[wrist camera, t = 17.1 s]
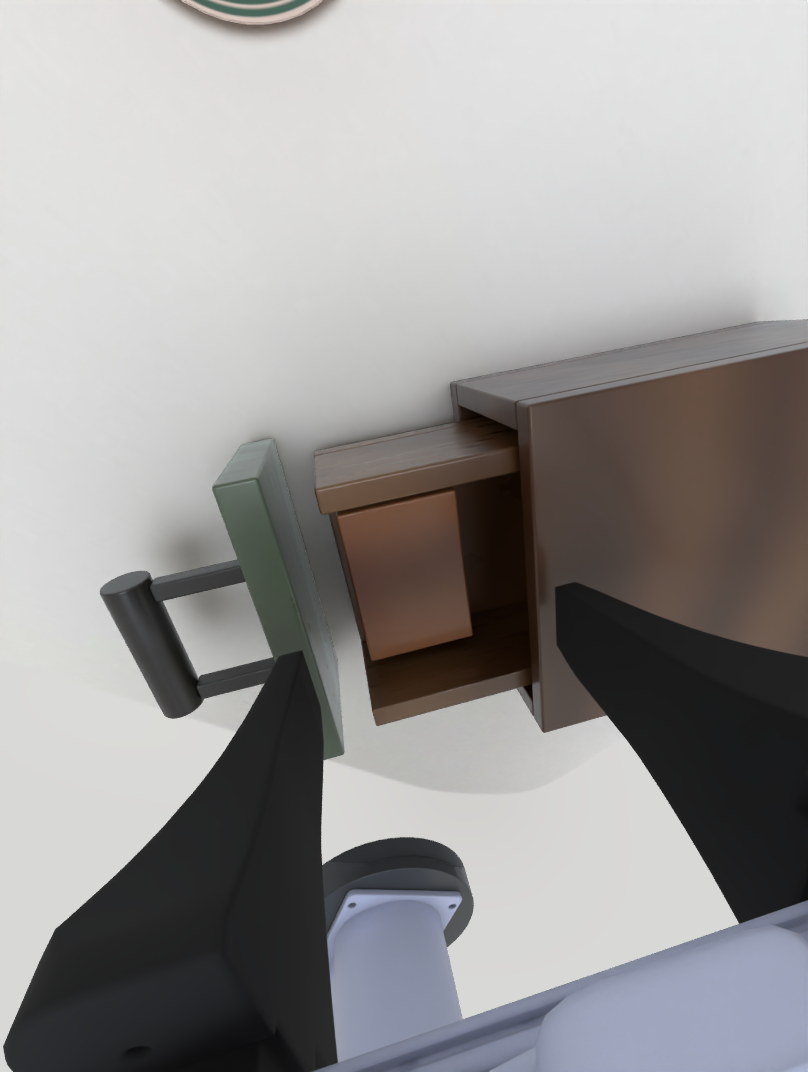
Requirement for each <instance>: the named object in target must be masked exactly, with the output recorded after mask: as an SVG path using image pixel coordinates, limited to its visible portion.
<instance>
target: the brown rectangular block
mask: <svg viewBox="0 0 808 1072" xmlns="http://www.w3.org/2000/svg"><path fill="white" fill-rule="evenodd" d="M335 514H336V520H337V524H338V528H339V532H340V536H341V540H342V544H343V548H344V552H345V556H346V560H347V564H348V569H349V573H350V577H351V581H352V585H353V589H354V593H355V597H356V601H357V605H358V609H359V613H360V617H361V621H362V625H363V629H364V633H365V637H366V641H367V645H368V649H369V653H370V657H371V660H372V661H376V660H380V659H383V658H387V657H391V656H395V655H399V654H403V653H407V652H411V651H415V650H418V649H422V648H426V647H430V646H434V645H438V644H442V643H446V642H450V641H454V640H457V639H461V638H465V637H469V636H472V635H473V631H472V622H471V614H470V606H469V598H468V590H467V581H466V573H465V565H464V557H463V549H462V540H461V532H460V524H459V516H458V508H457V499H456V491H455V490H454V489H453V488H452V487H447V488H442V489H438V490H433V491H429V492H424V493H420V494H415V495H411V496H406V497H402V498H397V499H393V500H388V501H383V502H379V503H374V504H370V505H365V506H361V507H356V508H352V509H347V510H343V511H338V512H335Z"/></svg>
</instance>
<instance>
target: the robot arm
mask: <svg viewBox="0 0 808 1072" xmlns="http://www.w3.org/2000/svg"><path fill="white" fill-rule="evenodd" d="M555 607H556V645H557V646H558V648H559V650H560V652H561V653H562V655H563V657H564V658H565V660H566V662H567V663H568V665H569V667H570V668H571V670H572V671H573V673H574V675H575V676H576V677H577V678H578V680H579V681H580V682H581V684H582V685H583V686H584V687H585V689H586V690H587V691H588V692H589V694H590V695H591V696H592V697H593V699H594V700H595V701H596V702H597V704H598V705H599V706H600V707H601V709H602V710H603V711H604V712H605V714H606V715H607V716H608V717H609V719H610V720H611V721H612V722H613V723H614V725H615V726H616V727H617V728H618V730H619V731H620V732H621V733H622V735H623V736H624V737H625V738H626V740H627V741H628V742H629V744H630V745H631V746H632V748H633V749H634V750H635V752H636V753H637V754H638V756H639V757H640V759H641V760H642V762H643V763H644V765H645V767H646V768H647V769H648V771H649V773H650V774H651V776H652V777H653V779H654V780H655V782H656V783H657V785H658V786H659V788H660V789H661V791H662V793H663V794H664V796H665V797H666V799H667V800H668V802H669V804H670V805H671V807H672V809H673V810H674V812H675V813H676V815H677V816H678V818H679V820H680V821H681V823H682V824H683V826H684V828H685V829H686V831H687V833H688V835H689V836H690V838H691V840H692V841H693V843H694V845H695V846H696V848H697V850H698V851H699V853H700V855H701V857H702V858H703V860H704V862H705V863H706V865H707V867H708V868H709V870H710V872H711V873H712V875H713V877H714V879H715V881H716V883H717V884H718V886H719V888H720V890H721V892H722V893H723V895H724V897H725V899H726V901H727V902H728V904H729V906H730V908H731V909H732V911H733V913H734V915H735V917H736V918H737V920H738V922H739V924H738V925H735V926H732V927H729V928H726V929H723V930H720V931H718V932H715V933H712V934H709V935H706V936H703V937H700V938H697V939H694V940H692V941H689V942H686V943H683V944H680V945H677V946H674V947H671V948H668V949H665V950H663V951H660V952H657V953H654V954H651V955H648V956H646V957H642V958H640V959H637V960H634V961H631V962H628V963H625V964H622V965H619V966H616V967H614V968H610V969H608V970H605V971H602V972H599V973H596V974H593V975H591V976H587V977H585V978H582V979H579V980H576V981H573V982H570V983H567V984H564V985H561V986H558V987H556V988H553V989H550V990H547V991H544V992H541V993H538V994H535V995H533V996H529V997H527V998H524V999H521V1000H518V1001H515V1002H512V1003H509V1004H506V1005H504V1006H501V1007H498V1008H495V1009H492V1010H489V1011H486V1012H483V1013H480V1014H478V1015H475V1016H472V1017H469V1018H466V1019H462V1014H461V1010H460V1005H459V1001H458V996H457V991H456V987H455V982H454V978H453V973H452V969H451V965H450V960H449V955H448V951H447V946H446V942H445V937H444V932H443V931H444V929H445V928H446V926H447V924H448V923H449V921H450V919H451V918H452V916H453V914H454V913H455V911H456V909H457V908H458V906H459V905H460V903H461V901H462V897H461V893H460V892H458V891H438V890H394V889H352V890H350V891H348V893H347V894H346V896H345V898H344V900H343V902H342V904H341V906H340V909H339V911H338V913H337V915H336V917H335V919H334V921H333V923H332V925H331V927H330V929H329V932H328V934H327V932H326V917H325V903H324V888H323V871H322V854H321V815H322V787H323V756H324V739H323V726H322V715H321V706H320V703H319V700H318V697H317V694H316V691H315V688H314V685H313V682H312V679H311V675H310V672H309V669H308V666H307V663H306V660H305V657H304V654H303V651H302V650H301V651H297V652H293V653H289V654H285V655H281V656H279V657H278V659H277V660H276V662H275V664H274V666H273V668H272V670H271V672H270V674H269V676H268V678H267V680H266V682H265V684H264V686H263V687H262V689H261V691H260V693H259V695H258V697H257V698H256V700H255V702H254V704H253V705H252V707H251V709H250V711H249V712H248V714H247V716H246V718H245V719H244V721H243V723H242V724H241V726H240V727H239V729H238V730H237V732H236V734H235V735H234V737H233V738H232V740H231V741H230V743H229V745H228V746H227V748H226V749H225V751H224V752H223V754H222V755H221V757H220V758H219V759H218V761H217V762H216V763H215V765H214V766H213V768H212V769H211V770H210V772H209V773H208V774H207V776H206V777H205V778H204V780H203V781H202V782H201V784H200V785H199V786H198V787H197V788H196V790H195V791H194V792H193V794H191V796H190V797H189V798H188V799H187V800H186V801H185V803H184V804H183V805H182V806H181V807H180V808H179V809H178V811H177V812H176V813H175V814H174V815H173V816H172V817H171V819H170V820H169V821H168V822H167V823H166V824H165V826H164V827H163V828H162V829H161V830H160V831H159V832H158V833H157V834H156V835H155V836H154V837H153V838H152V839H151V840H150V841H149V842H148V843H147V844H146V846H145V847H144V848H143V849H142V850H141V851H140V852H139V853H138V854H137V855H136V856H135V857H134V858H133V859H132V860H131V861H130V862H129V863H128V864H127V865H126V866H125V867H124V868H123V869H122V870H120V871H119V872H118V873H117V874H116V875H115V876H114V877H113V878H112V879H111V880H110V881H109V882H108V883H107V884H106V885H104V886H103V887H102V888H101V889H100V890H99V891H98V892H97V893H96V894H94V895H93V896H92V897H91V898H90V899H89V900H88V901H87V902H86V903H85V904H83V905H82V906H81V907H80V908H79V909H78V910H77V911H76V912H75V913H73V914H72V915H71V916H70V917H69V918H68V919H67V920H66V921H64V922H63V923H62V924H61V925H60V926H59V927H57V928H56V929H55V931H54V933H53V935H52V937H51V939H50V941H49V944H48V945H47V947H46V949H45V951H44V953H43V956H42V958H41V960H40V962H39V964H38V967H37V969H36V971H35V973H34V976H33V978H32V980H31V983H30V985H29V987H28V990H27V992H26V994H25V997H24V999H23V1001H22V1004H21V1006H20V1008H19V1011H18V1013H17V1015H16V1017H15V1020H14V1022H13V1024H12V1027H11V1029H10V1031H9V1034H8V1036H7V1039H6V1041H5V1044H4V1046H3V1048H4V1054H5V1060H6V1062H7V1065H8V1066H9V1067H10V1069H11V1070H12V1071H13V1072H808V657H805V656H800V655H795V654H789V653H785V652H780V651H776V650H771V649H767V648H762V647H758V646H753V645H749V644H745V643H742V642H738V641H734V640H730V639H727V638H723V637H720V636H717V635H713V634H710V633H706V632H703V631H700V630H697V629H694V628H691V627H688V626H685V625H682V624H679V623H677V622H674V621H671V620H668V619H665V618H663V617H660V616H658V615H655V614H652V613H650V612H647V611H645V610H642V609H640V608H637V607H635V606H633V605H630V604H628V603H625V602H623V601H621V600H618V599H616V598H614V597H611V596H609V595H607V594H604V593H602V592H600V591H597V590H595V589H593V588H590V587H588V586H585V585H583V584H580V583H577V582H573V583H569V584H565V585H561V586H557V587H555Z"/></svg>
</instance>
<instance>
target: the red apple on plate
mask: <svg viewBox="0 0 808 1072" xmlns="http://www.w3.org/2000/svg"><path fill="white" fill-rule="evenodd" d="M181 1H182V2H184V3H185V4H187V5H189V6H191V7H193V8H195V9H197V10H199V11H201V12H203V13H205V14H207V15H210V16H213V17H216V18H219V19H222V20H225V21H229V22H235V23H240V24H245V25H267V24H273V23H279V22H284V21H287V20H289V19H292V18H295V17H298V16H300V15H302V14H304V13H306V12H307V11H309V10H311V9H312V8H314V7H316V6H317V5H319V4H320V3H321V2H322V1H323V0H181Z"/></svg>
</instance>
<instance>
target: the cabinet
mask: <svg viewBox="0 0 808 1072" xmlns="http://www.w3.org/2000/svg"><path fill="white" fill-rule="evenodd" d="M450 385H451V393H452V402H453V411H454V419H455V422H459V421H463V420H468V419H473V418H478V417H483V416H485V417H488V418H490V419H492V420H495V421H497V422H499V423H502V424H504V425H506V426H508V427H511V428H513V429H515V430H518V439H519V457H520V475H521V493H522V510H523V528H524V546H525V564H526V581H527V599H528V617H529V635H530V652H531V670H532V684H530V685H527V686H523V687H519V688H517V690H518V691H519V693H520V695H521V696H522V698H523V700H524V702H525V703H526V705H527V707H528V708H529V710H530V712H531V713H532V715H533V716H534V718H535V720H536V722H537V723H538V725H539V727H540V728H541V730H542V732H543V733H546V732H549V731H553V730H556V729H560V728H563V727H567V726H570V725H574V724H577V723H581V722H584V721H588V720H591V719H595V718H599V717H602V716H606V714H605V712H604V711H603V710H602V709H601V707H600V706H599V705H598V704H597V702H596V701H595V700H594V699H593V697H592V696H591V695H590V694H589V692H588V691H587V690H586V689H585V687H584V686H583V685H582V684H581V682H580V681H579V680H578V678H577V677H576V676H575V675H574V673H573V671H572V670H571V668H570V667H569V665H568V663H567V662H566V660H565V658H564V657H563V655H562V653H561V652H560V650H559V648H558V646H557V645H556V607H555V587H557V586H561V585H565V584H569V583H573V582H577V583H580V584H583V585H585V586H588V587H590V588H593V589H595V590H597V591H600V592H602V593H604V594H607V595H609V596H611V597H614V598H616V599H618V600H621V601H623V602H625V603H628V604H630V605H633V606H635V607H637V608H640V609H642V610H645V611H647V612H650V613H652V614H655V615H658V616H660V617H663V618H665V619H668V620H671V621H674V622H677V623H679V624H682V625H685V626H688V627H691V628H694V629H697V630H700V631H703V632H706V633H710V634H713V635H717V636H720V637H723V638H727V639H730V640H734V641H738V642H742V643H745V644H749V645H753V646H758V647H762V648H767V649H771V650H776V651H780V652H785V653H789V654H795V655H800V656H805V657H808V319H807V320H785V321H763V322H755V323H750V324H744V325H739V326H734V327H729V328H724V329H719V330H714V331H709V332H704V333H699V334H694V335H688V336H683V337H678V338H673V339H668V340H663V341H658V342H653V343H648V344H643V345H638V346H632V347H627V348H622V349H617V350H612V351H607V352H602V353H597V354H592V355H587V356H582V357H576V358H571V359H566V360H561V361H556V362H551V363H546V364H541V365H536V366H531V367H526V368H521V369H515V370H510V371H505V372H500V373H495V374H490V375H485V376H480V377H475V378H470V379H465V380H459V381H454V382H451V384H450Z"/></svg>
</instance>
